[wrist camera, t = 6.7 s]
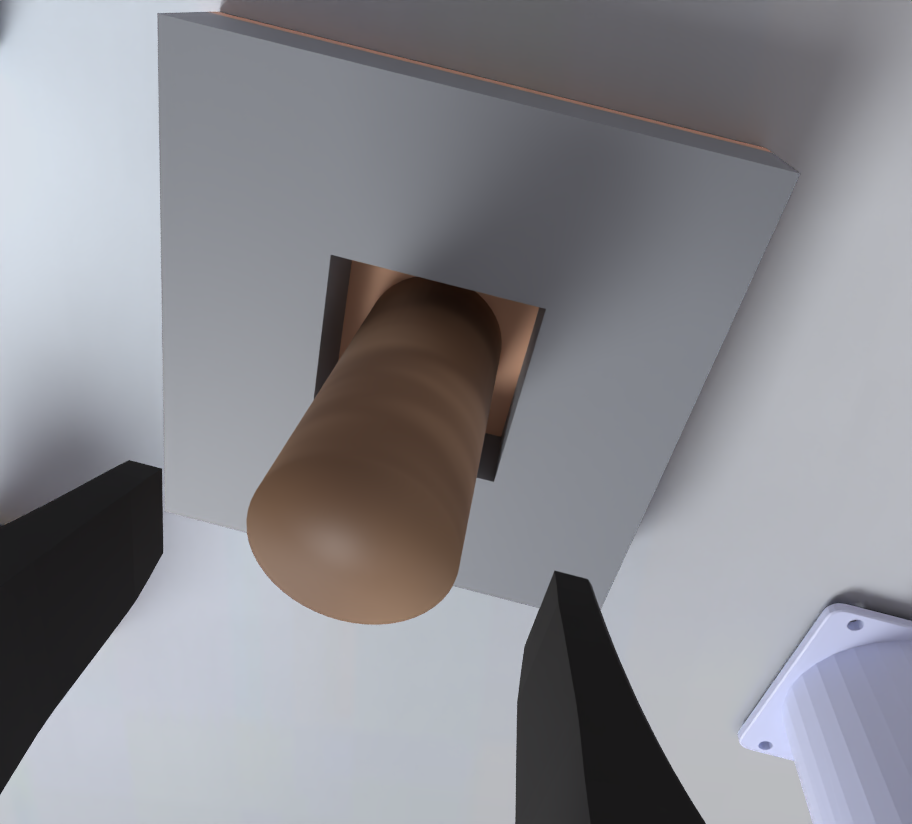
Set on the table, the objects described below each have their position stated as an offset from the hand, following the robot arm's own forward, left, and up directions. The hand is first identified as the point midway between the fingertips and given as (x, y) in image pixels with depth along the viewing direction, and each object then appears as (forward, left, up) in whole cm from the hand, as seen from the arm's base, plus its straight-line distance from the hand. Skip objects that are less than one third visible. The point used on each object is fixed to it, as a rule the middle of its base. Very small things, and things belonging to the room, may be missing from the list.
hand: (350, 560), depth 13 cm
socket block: (0, 0, -10) cm, 10 cm away
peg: (0, 0, -9) cm, 9 cm away
